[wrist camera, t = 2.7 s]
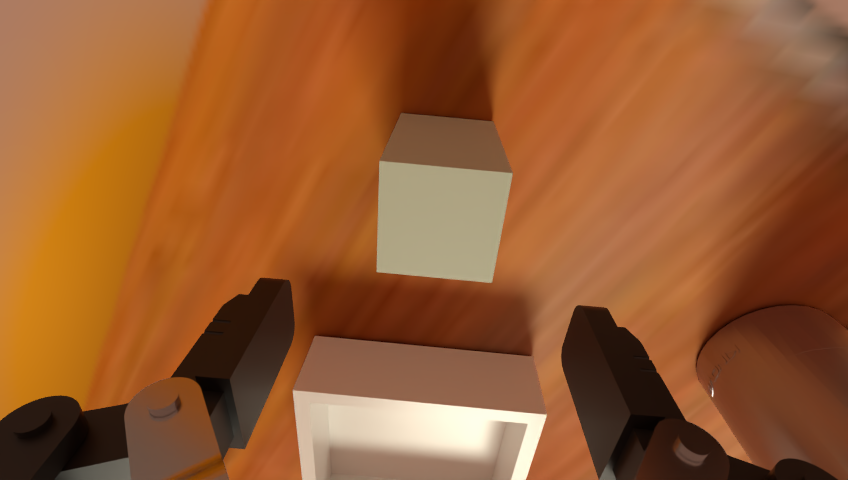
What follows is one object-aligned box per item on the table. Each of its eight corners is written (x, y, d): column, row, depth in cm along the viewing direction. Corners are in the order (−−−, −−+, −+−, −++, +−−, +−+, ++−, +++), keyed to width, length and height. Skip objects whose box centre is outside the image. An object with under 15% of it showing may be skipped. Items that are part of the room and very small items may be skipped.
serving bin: (533, 356, 31) (547, 414, 26) (497, 484, 39) (503, 546, 34) (314, 335, 31) (292, 390, 26) (323, 467, 39) (307, 526, 34)
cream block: (493, 121, 23) (512, 173, 16) (480, 205, 25) (491, 282, 18) (401, 113, 23) (379, 161, 16) (396, 198, 25) (376, 272, 18)
